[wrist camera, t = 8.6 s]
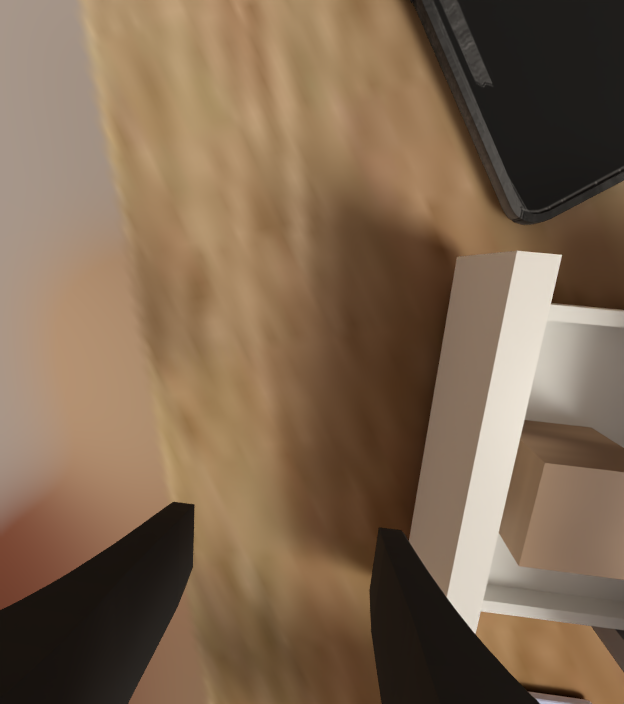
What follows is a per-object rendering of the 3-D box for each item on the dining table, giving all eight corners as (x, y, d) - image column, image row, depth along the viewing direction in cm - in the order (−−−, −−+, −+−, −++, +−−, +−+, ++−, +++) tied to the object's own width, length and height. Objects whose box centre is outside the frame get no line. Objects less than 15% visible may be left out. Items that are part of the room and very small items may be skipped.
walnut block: (478, 498, 17) (518, 566, 13) (495, 416, 16) (544, 462, 12) (568, 510, 17) (636, 581, 13) (591, 427, 16) (671, 477, 12)
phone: (572, -329, 12) (723, 128, 14) (552, -278, 13) (695, 138, 15) (348, -161, 13) (520, 234, 15) (348, -127, 14) (508, 237, 17)
